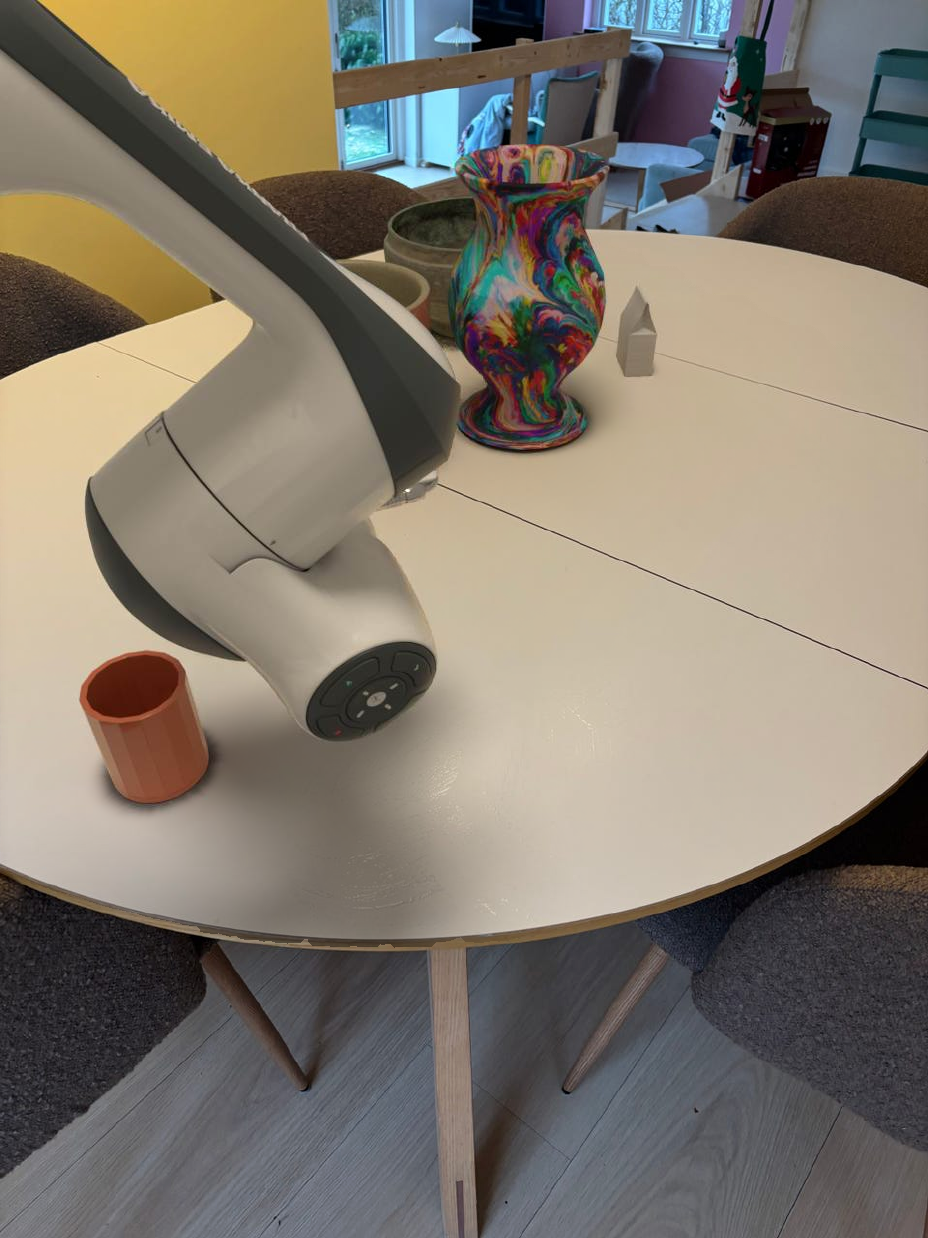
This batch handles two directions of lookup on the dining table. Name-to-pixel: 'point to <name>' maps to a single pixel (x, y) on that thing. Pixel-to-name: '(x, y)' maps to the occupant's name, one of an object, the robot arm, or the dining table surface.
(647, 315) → the gable top carton
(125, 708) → the terracotta cup
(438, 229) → the bowl
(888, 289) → the dining table surface
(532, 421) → the vase
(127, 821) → the dining table surface
